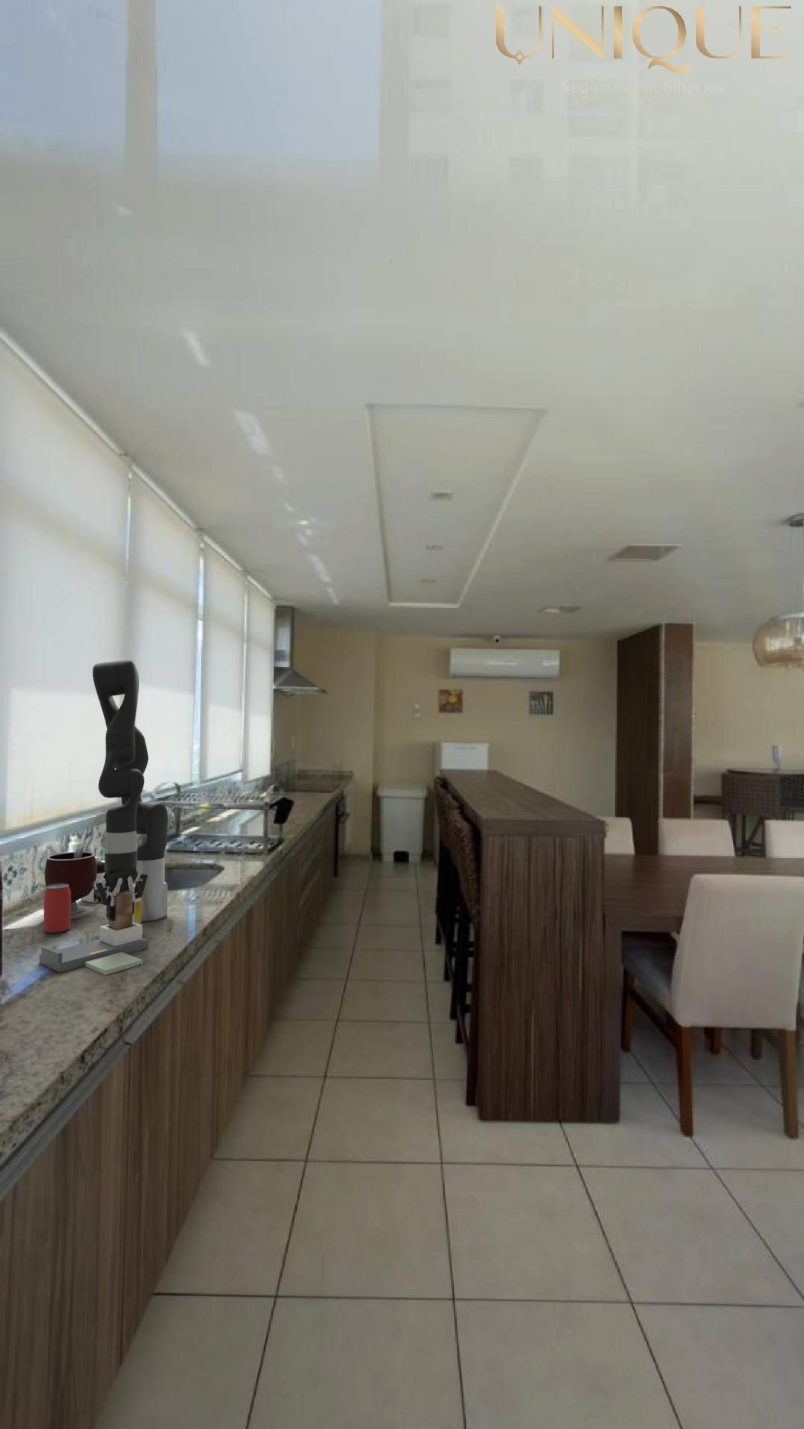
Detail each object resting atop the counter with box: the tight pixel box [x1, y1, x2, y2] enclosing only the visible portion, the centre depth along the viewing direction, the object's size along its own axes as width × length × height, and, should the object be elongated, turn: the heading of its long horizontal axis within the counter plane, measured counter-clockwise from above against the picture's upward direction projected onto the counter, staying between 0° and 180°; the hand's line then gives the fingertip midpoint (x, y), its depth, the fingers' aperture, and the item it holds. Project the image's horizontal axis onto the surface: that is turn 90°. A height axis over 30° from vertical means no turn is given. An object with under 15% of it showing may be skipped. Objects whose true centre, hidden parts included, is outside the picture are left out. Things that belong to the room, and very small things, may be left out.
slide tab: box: [99, 922, 143, 946], centre depth 173 cm, size 7×7×4 cm
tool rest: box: [84, 952, 143, 976], centre depth 161 cm, size 9×9×1 cm
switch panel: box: [38, 937, 150, 973], centre depth 168 cm, size 22×10×4 cm, turn 142°
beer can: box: [43, 884, 72, 934], centre depth 188 cm, size 7×7×12 cm
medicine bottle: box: [80, 860, 108, 904], centre depth 222 cm, size 7×7×12 cm
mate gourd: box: [44, 840, 97, 920], centre depth 206 cm, size 16×14×20 cm
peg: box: [108, 890, 133, 930], centre depth 173 cm, size 4×4×10 cm
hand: (120, 918), depth 173 cm, fingers closed on peg, 4 cm apart
